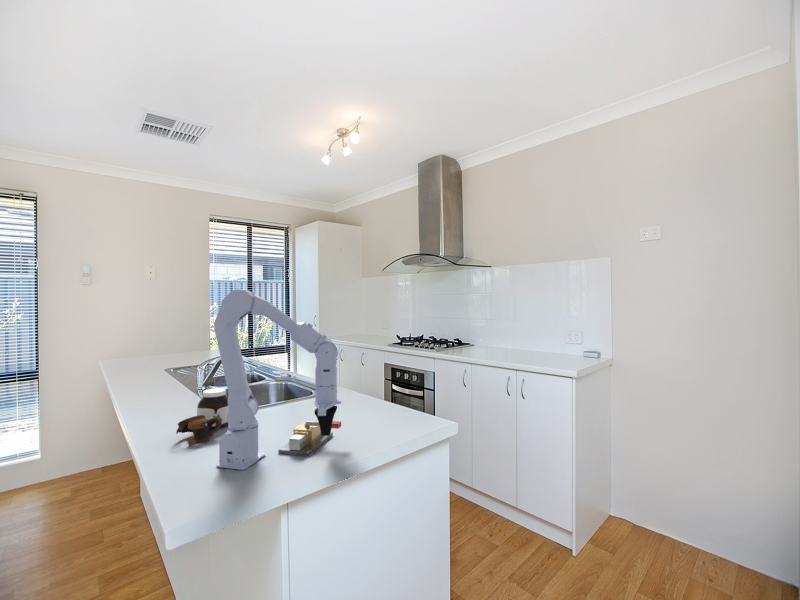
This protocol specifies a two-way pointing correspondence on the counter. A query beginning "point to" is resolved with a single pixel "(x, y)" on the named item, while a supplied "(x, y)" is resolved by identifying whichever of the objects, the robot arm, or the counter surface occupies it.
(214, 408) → the spread jar
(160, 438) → the counter surface
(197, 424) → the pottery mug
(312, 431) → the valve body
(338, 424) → the valve lever
